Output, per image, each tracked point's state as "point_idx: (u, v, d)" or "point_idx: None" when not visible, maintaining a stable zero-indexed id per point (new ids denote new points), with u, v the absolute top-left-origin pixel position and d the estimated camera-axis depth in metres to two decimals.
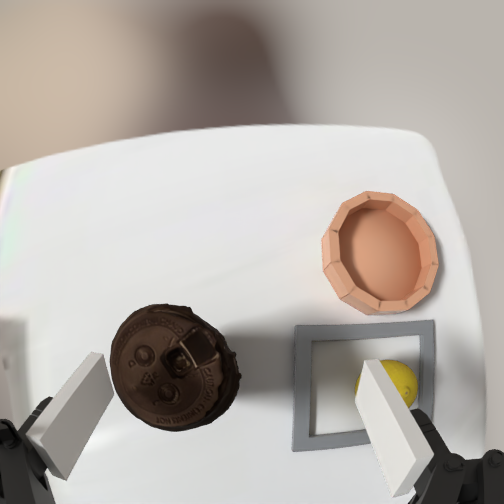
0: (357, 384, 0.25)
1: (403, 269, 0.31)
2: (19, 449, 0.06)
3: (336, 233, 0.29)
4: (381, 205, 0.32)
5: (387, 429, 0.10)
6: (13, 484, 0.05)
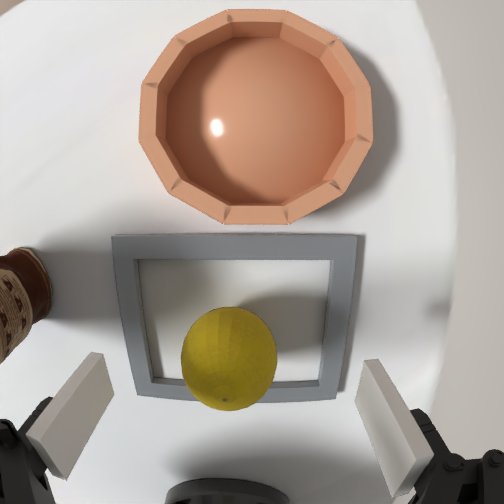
0: None
1: (304, 140, 0.17)
2: (19, 449, 0.06)
3: (154, 89, 0.15)
4: (264, 30, 0.15)
5: (387, 429, 0.10)
6: (13, 484, 0.05)
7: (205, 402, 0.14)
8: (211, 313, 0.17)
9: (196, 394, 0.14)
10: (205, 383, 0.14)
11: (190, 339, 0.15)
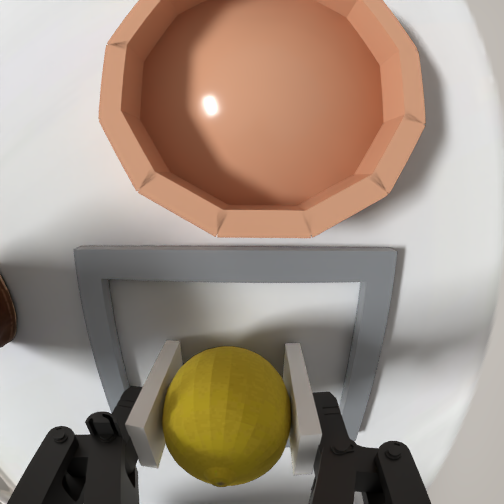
0: None
1: (329, 119, 0.12)
2: (116, 444, 0.08)
3: (121, 49, 0.09)
4: None
5: (292, 407, 0.12)
6: (99, 480, 0.06)
7: (195, 477, 0.09)
8: (202, 359, 0.12)
9: (183, 468, 0.09)
10: (193, 461, 0.09)
11: (172, 397, 0.10)
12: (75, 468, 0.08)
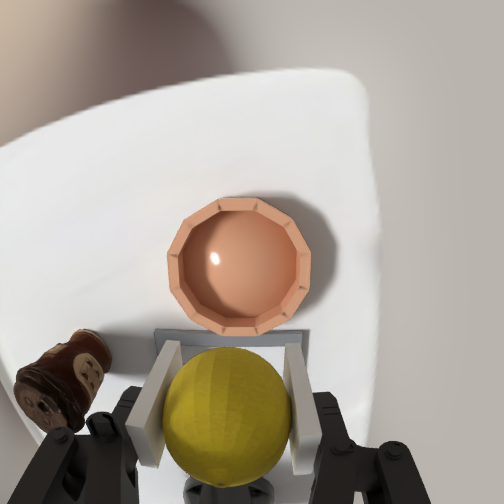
0: None
1: (269, 281, 0.30)
2: (116, 444, 0.08)
3: (175, 258, 0.27)
4: None
5: (292, 407, 0.12)
6: (99, 480, 0.06)
7: None
8: (202, 360, 0.12)
9: (183, 469, 0.09)
10: (193, 463, 0.09)
11: (172, 398, 0.10)
12: (75, 468, 0.08)
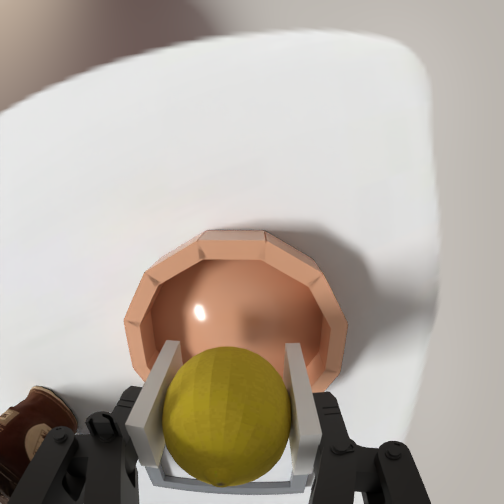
0: None
1: (279, 354, 0.19)
2: (116, 444, 0.08)
3: (136, 328, 0.17)
4: None
5: (292, 407, 0.12)
6: (99, 480, 0.06)
7: (195, 477, 0.09)
8: (202, 359, 0.12)
9: (182, 468, 0.09)
10: (193, 462, 0.08)
11: (172, 397, 0.10)
12: (75, 468, 0.08)
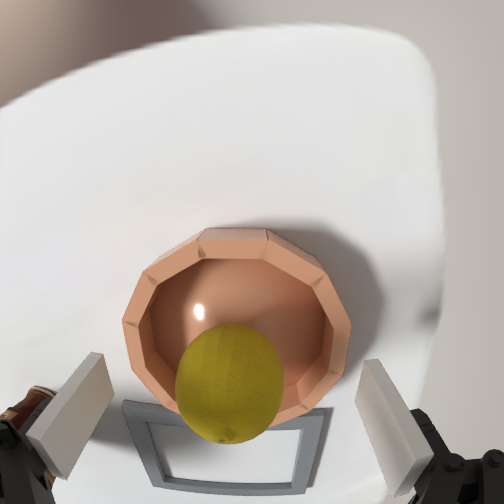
0: None
1: (281, 355, 0.19)
2: (19, 449, 0.06)
3: (135, 328, 0.16)
4: None
5: (387, 429, 0.10)
6: (13, 484, 0.05)
7: (201, 436, 0.12)
8: (210, 334, 0.14)
9: (191, 427, 0.12)
10: (200, 421, 0.11)
11: (184, 366, 0.13)
12: None
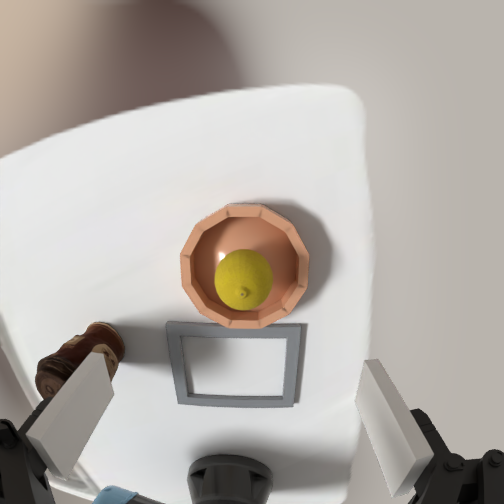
0: None
1: None
2: (19, 449, 0.06)
3: (187, 258, 0.30)
4: None
5: (387, 429, 0.10)
6: (13, 484, 0.05)
7: (229, 300, 0.26)
8: (233, 251, 0.29)
9: (224, 295, 0.26)
10: (231, 285, 0.26)
11: (221, 264, 0.28)
12: None
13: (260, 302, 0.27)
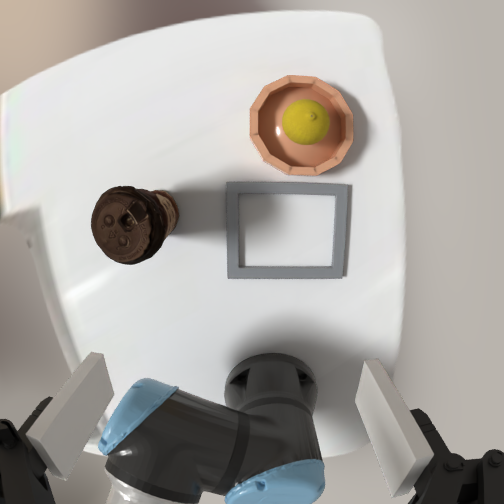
0: None
1: (322, 139, 0.37)
2: (19, 449, 0.06)
3: (256, 112, 0.34)
4: (304, 85, 0.34)
5: (387, 429, 0.10)
6: (13, 484, 0.05)
7: (300, 125, 0.30)
8: None
9: (295, 121, 0.30)
10: (302, 111, 0.29)
11: (289, 105, 0.31)
12: None
13: (323, 130, 0.31)
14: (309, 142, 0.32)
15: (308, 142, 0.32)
